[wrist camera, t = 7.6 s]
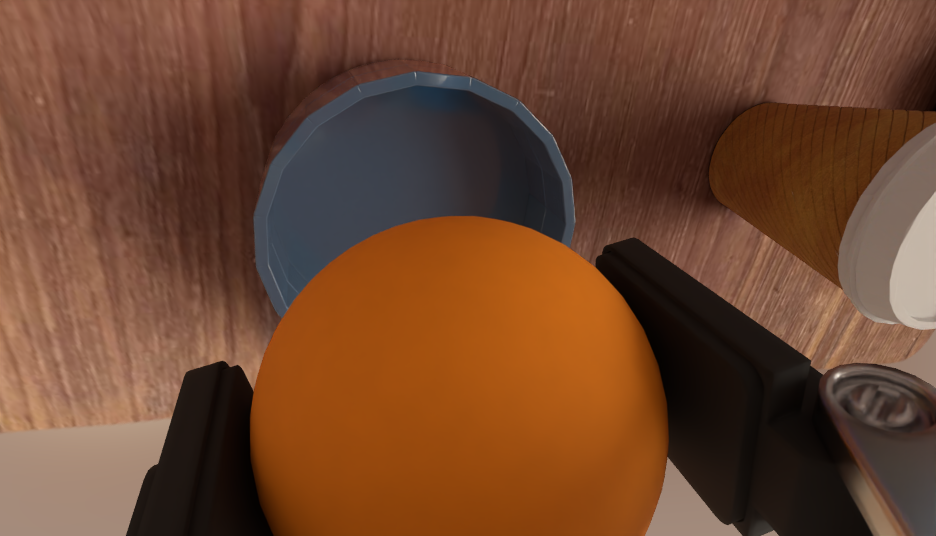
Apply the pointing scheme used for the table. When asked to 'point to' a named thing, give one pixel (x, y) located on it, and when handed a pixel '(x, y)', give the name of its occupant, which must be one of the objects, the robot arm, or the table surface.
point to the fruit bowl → (400, 167)
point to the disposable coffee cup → (842, 198)
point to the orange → (459, 393)
